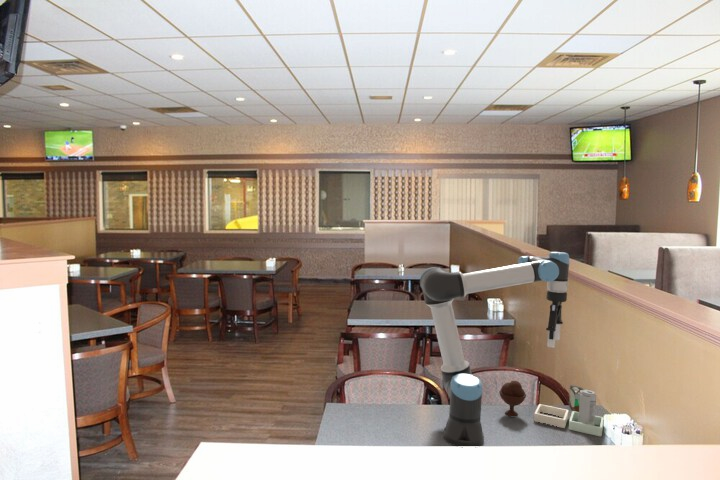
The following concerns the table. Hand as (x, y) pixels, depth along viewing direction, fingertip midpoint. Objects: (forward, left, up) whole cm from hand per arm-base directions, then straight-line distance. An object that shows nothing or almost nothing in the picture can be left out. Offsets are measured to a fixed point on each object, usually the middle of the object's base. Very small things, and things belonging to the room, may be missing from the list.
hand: (553, 343), depth 205 cm
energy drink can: (+8, +14, -35) cm, 38 cm away
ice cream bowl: (-16, -2, -35) cm, 39 cm away
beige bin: (-4, +8, -35) cm, 36 cm away
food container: (-3, +26, -35) cm, 44 cm away
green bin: (+8, +14, -35) cm, 38 cm away
